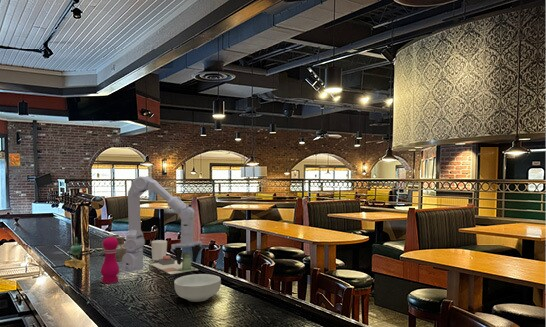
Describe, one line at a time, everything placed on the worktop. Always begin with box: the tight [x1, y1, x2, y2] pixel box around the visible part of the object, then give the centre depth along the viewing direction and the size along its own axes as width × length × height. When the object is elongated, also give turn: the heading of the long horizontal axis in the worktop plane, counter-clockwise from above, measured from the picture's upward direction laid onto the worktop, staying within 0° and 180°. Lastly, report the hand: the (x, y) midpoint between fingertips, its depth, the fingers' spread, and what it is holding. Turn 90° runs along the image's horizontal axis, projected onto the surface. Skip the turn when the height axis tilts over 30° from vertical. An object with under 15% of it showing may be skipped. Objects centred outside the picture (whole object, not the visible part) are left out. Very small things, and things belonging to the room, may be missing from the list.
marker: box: [181, 251, 192, 270], centre depth 190 cm, size 4×4×8 cm
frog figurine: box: [64, 236, 87, 270], centre depth 200 cm, size 10×18×15 cm, turn 36°
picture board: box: [150, 257, 199, 275], centre depth 195 cm, size 24×14×3 cm, turn 38°
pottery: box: [101, 234, 127, 262], centre depth 219 cm, size 11×25×12 cm, turn 35°
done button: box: [163, 255, 171, 261], centre depth 202 cm, size 4×4×2 cm
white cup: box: [150, 239, 168, 261], centre depth 212 cm, size 8×8×10 cm
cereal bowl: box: [173, 273, 222, 303], centre depth 151 cm, size 17×17×7 cm
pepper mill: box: [100, 233, 120, 284], centre depth 172 cm, size 7×7×20 cm
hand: (186, 263), depth 190 cm, fingers open, 7 cm apart
